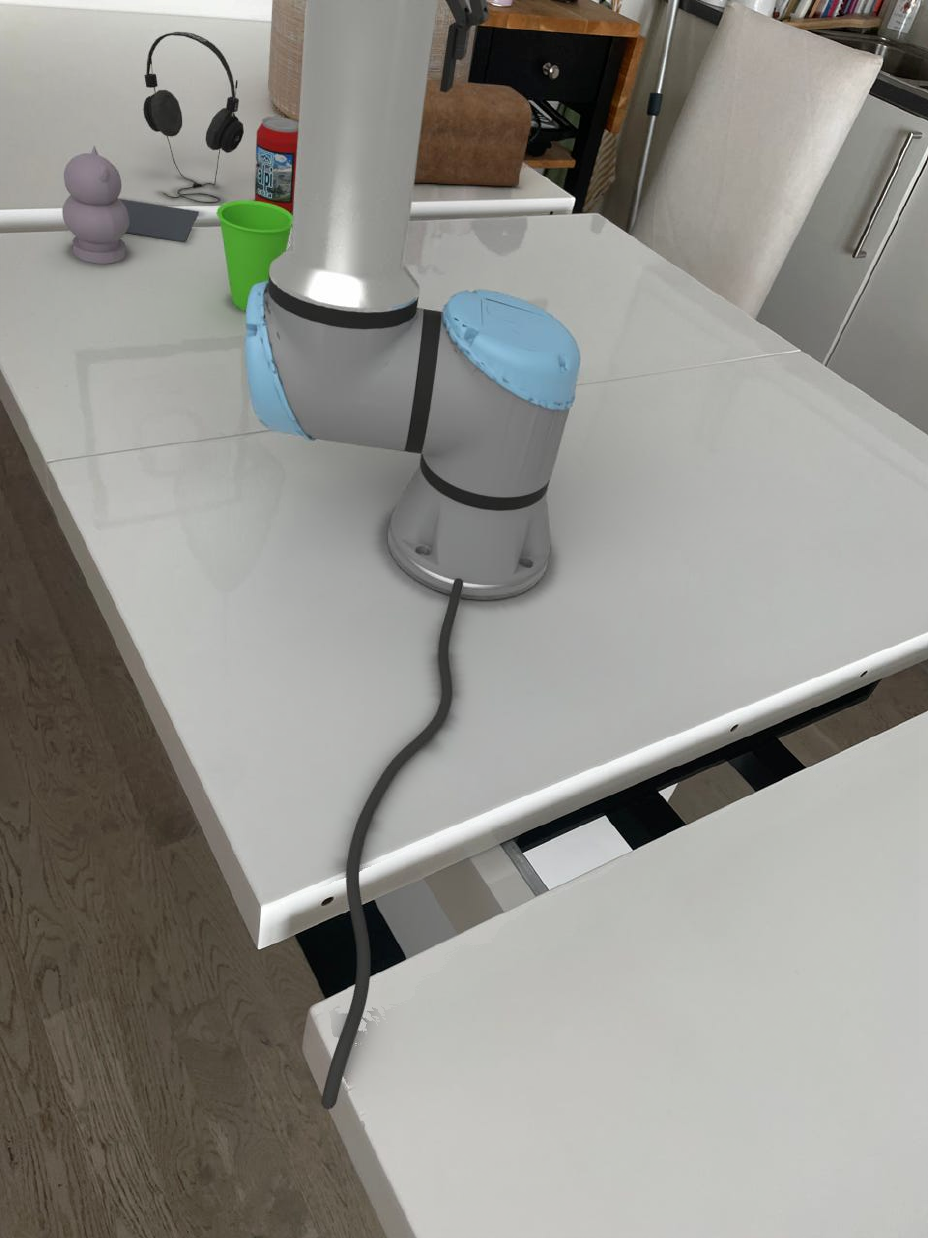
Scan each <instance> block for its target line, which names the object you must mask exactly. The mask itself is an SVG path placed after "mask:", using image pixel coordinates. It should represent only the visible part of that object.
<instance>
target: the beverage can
mask: <svg viewBox="0 0 928 1238" xmlns="http://www.w3.org/2000/svg"><path fill="white" fill-rule="evenodd" d="M298 124H299V123H298V122H296V121H294V120H291V119H289V118H288V117H282V116H266V117H263V118H262V119H261V123H260V125H259V127H258V129H257V131H256V140H255V141H256V143H255V145H256V146H255V172H254V173H255V174H254V175H255V177H254V201H259V202H264V203H269V204H272V205H276V206H278V207H281V208H283V209H285V210H287V211H288V212H290V213H291V214H293V204H294V188H295V172H296V156H297V140H298Z"/></svg>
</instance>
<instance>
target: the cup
mask: <svg viewBox="0 0 928 1238" xmlns="http://www.w3.org/2000/svg"><path fill="white" fill-rule="evenodd" d="M216 216H217V218H218V219H219V222H220V227H221V235H222V241H223V248H224V256H225V261H226V262H225V263H226V269H227V276H228V282H229V288H230V294H231V295H230V296H231V300H232V302H233V304H234V306H235V307H236V308H238V309H239V310H241V311H245V312H246V309H247V302H248V297H249V294H250V291H251V289H252V287H253V286H254V285H255V284H257V283H262V282H264V281H269V268H270V264H271V263H272V262H273V260H275V259H276V258H277V257H278V256H280V255H281V254H282V253H284V252H285V251H286V250H287V249H288V245H289V244H288V243H289V239H290V235H291V234H290V233H291V231H292V220H293V213H290V212H288V211H287V210H285V209H283V208H281V207H278V206H276V205H272V204H269V203H264V202H259V201H255V200H233V201H228V202H225V203H223V204H221V205H220V206H219V207H218V208H217V210H216Z"/></svg>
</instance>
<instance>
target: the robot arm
mask: <svg viewBox="0 0 928 1238" xmlns="http://www.w3.org/2000/svg"><path fill="white" fill-rule="evenodd" d="M446 2H447V4H448V6H449V8H450V10H451V12H452V15H453V17H454V19H455V21H456V22H455V23H453V24H451V25H450V26H449V30H448V37H447V44H446V51H445V58H444V65H443V72H442V79H441V87H440V91H442V92H448V91H449V90H450V89H451V88H452V87H453V80H454V73H455V67H456V60H462V59H463V58H464V57H465V55H466V53H467V47H468V40H469V34H470V28H471V26H474V25H476V26H481V25H483V24H484V23H486V22H487V21H489V19H490V11H489V7H488V2H487V0H469V3H470V7H471V12H470V10H469V8H468V5H467V3H466V1H465V0H446ZM437 7H438V0H306V11H305V27H304V43H303V60H302V76H301V92H300V108H299V124H298V140H297V156H296V172H295V188H294V204H293V212H292V215H293V220H292V228H291V237H290V239H291V240H290V246H289V247H288V248H286V251H285V252H284V253H282V254H281V255H280V256H278V257H277V258H276V259H275V260H273V262H272V263H271V264H270V268H269V281H264V282H262V283H257V284H255V285H254V286H253V287H252V289H251V291H250V294H249V297H248V302H247V309H246V311H245V337H244V355H245V358H244V359H245V371H246V381H247V389H248V394H249V400H250V403H251V406H252V409H253V412H254V414H255V415H256V417H257V419H258V420H259V422H260V423H261V424H262V425H263V426H264V427H265V428H267V430H270V431H273V432H276V433H281V434H286V435H291V436H298V437H301V438H303V439H304V440H306V441H310V442H311V441H312V442H315V441H316V440H319V441H326V442H334V443H340V444H346V445H347V444H348V445H355V446H362V447H370V448H375V449H383V450H390V451H395V452H396V451H397V452H404V453H411V454H419V455H420V460H419V465H418V467H417V469H416V470H415V472H414V474H413V476H412V477H411V479H410V480H409V483H408V484H407V485H406V488H405V489H404V491H403V492H402V494H401V497H400V498H399V499H398V501H397V503H396V505H395V506H394V508H393V510H392V512H391V515H390V518H389V524H388V525H389V526H388V532H387V544H388V548H389V551H390V553H391V555H392V557H393V559H394V561H395V562H396V563H397V564H398V565H399V567H400V568H401V569H402V570H403V571H404V572H405V573H406V574H408V575H409V576H410V577H412V578H413V579H414V580H416V581H417V582H418V583H420V584H422V585H424V586H426V587H428V588H429V589H432V590H435V591H436V592H439V593H440V592H441V593H443V594H445V595H449V600H448V604H447V606H446V607H447V608H446V612H445V615H444V618H443V622H442V626H441V629H440V634H439V639H438V646H437V647H438V649H437V658H438V659H437V660H438V667H439V674H440V675H439V676H440V682H441V683H440V684H441V697H440V702H439V705H438V708H437V710H436V712H435V715H434V716H433V718H432V720H431V721H430V722H429V724H428V725H427V726H426V727H425V728H424V729H423V730H422V731H421V732H420V733H419V734H418V735H417V736H415V738H414V739H412V741H410V742H409V743H408V744H406V745H405V746H404V748H402V750H400V752H398V753H397V755H395V757H393V759H392V760H391V761H390V763H389V764H388V765H387V766H386V768H385V769H384V771H383V772H382V773H381V775H380V777H379V779H378V781H377V782H376V784H375V785H374V787H373V789H372V791H371V792H370V794H369V795H368V798H367V799H366V801H365V804H363V807H362V810H361V812H360V814H359V817H358V819H357V821H356V824H355V827H354V830H353V832H352V833H353V834H352V837H351V840H350V845H349V850H348V855H347V860H346V869H345V870H346V871H345V886H346V894H347V895H346V896H347V897H346V898H347V903H348V908H349V914H350V919H351V924H352V929H353V934H354V941H355V947H356V973H355V984H354V989H353V993H352V998H351V1002H350V1005H349V1009H348V1012H347V1016H346V1018H345V1021H344V1024H343V1026H342V1029H341V1033H340V1035H339V1038H338V1040H337V1043H336V1046H335V1050H334V1053H333V1055H332V1057H331V1058H332V1059H331V1062H330V1064H329V1069H328V1072H327V1075H326V1079H325V1083H324V1087H323V1091H322V1095H321V1105H322V1107H323V1109H325V1110H328V1111H329V1110H331V1109H333V1108H334V1107H335V1106H336V1104H337V1102H338V1097H339V1093H340V1089H341V1085H342V1081H343V1077H344V1074H345V1071H346V1070H345V1069H346V1067H347V1063H348V1061H349V1057H350V1055H351V1051H352V1048H353V1046H354V1042H355V1039H356V1036H357V1034H358V1031H359V1028H360V1026H361V1025H360V1024H361V1022H362V1019H363V1016H364V1012H365V1008H366V1004H367V999H368V995H369V990H370V982H371V968H372V960H371V945H370V937H369V932H368V931H369V930H368V926H367V921H366V917H365V911H364V908H363V907H364V906H363V902H362V897H361V890H360V889H361V888H360V868H361V859H362V853H363V848H364V844H365V840H366V836H367V832H368V829H369V827H370V823H371V821H372V819H373V816H374V814H375V812H376V810H377V808H378V806H379V804H380V802H381V801H382V798H383V796H384V795H385V793H386V791H387V789H388V788H389V786H390V784H391V783H392V781H393V779H394V778H395V776H396V775H397V773H398V772H399V771H400V769H402V767H403V766H404V765H405V763H407V762H408V760H409V759H410V758H412V757H413V756H414V755H415V754H416V753H417V752H418V751H419V750H420V749H422V747H424V746H425V745H426V744H427V743H428V742H429V741H430V740H431V739H433V737H434V736H435V735H436V733H438V731H439V730H440V728H441V727H442V725H443V724H444V723H445V721H446V719H447V717H448V714H449V712H450V709H451V705H452V700H453V682H452V681H453V680H452V674H451V669H450V668H451V667H450V661H449V648H450V647H449V646H450V639H451V634H452V630H453V627H454V622H455V620H456V616H457V611H458V609H459V608H458V607H459V604H460V599H468V600H476V601H477V600H479V601H484V600H485V601H490V600H500V599H501V600H502V599H507V598H511V597H514V596H517V595H520V594H522V593H525V592H526V591H528V590H530V589H531V588H533V587H535V585H536V584H538V583H539V581H540V580H542V579H543V576H544V574H545V572H546V570H547V567H548V563H549V559H550V556H551V552H552V538H551V528H550V518H549V508H548V497H547V496H548V495H547V493H548V489H549V485H550V481H551V478H552V475H553V471H554V468H555V464H556V460H557V457H558V453H559V449H560V446H561V442H562V439H563V435H564V431H565V428H566V424H567V421H568V418H569V413H570V409H571V408H572V407H573V405H574V403H575V401H576V388H577V383H578V379H579V373H580V367H581V351H580V348H579V344H578V343H577V340H576V338H575V337H574V335H573V334H572V332H571V331H570V330H569V329H568V328H567V326H565V325H564V324H563V323H562V322H561V321H560V320H558V319H557V318H556V317H554V316H553V315H552V314H551V313H549V312H548V311H546V310H544V309H542V308H541V307H539V306H537V305H535V304H533V303H532V302H531V303H530V302H528V300H527V301H526V300H524V299H522V298H520V297H516V296H513V295H510V294H506V293H502V292H499V291H494V290H488V289H474V290H473V291H469V290H467V289H466V290H462V291H459V292H456V293H454V294H453V295H452V296H450V297H449V298H448V301H447V302H446V303H445V304H444V305H443V308H442V310H441V311H440V310H434V309H427V308H422V307H418V305H419V297H420V293H421V289H420V284H419V282H418V280H417V279H416V277H414V275H413V274H412V273H411V271H410V270H409V269H408V268H407V266H406V264H405V255H406V247H407V241H408V239H407V238H408V233H409V226H410V225H409V224H410V218H411V212H412V211H411V209H412V203H413V196H414V188H415V182H414V181H415V173H416V166H417V158H418V150H419V143H420V135H421V128H422V120H423V113H424V105H425V98H426V90H427V82H428V75H429V67H430V60H431V52H432V45H433V37H434V30H435V22H436V14H437Z"/></svg>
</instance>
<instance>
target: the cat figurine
mask: <svg viewBox="0 0 928 1238" xmlns="http://www.w3.org/2000/svg"><path fill="white" fill-rule="evenodd" d="M63 180H64V186H65V189H66V191H67V192H68V194H69V195H68V197H67V198H66V199H65V201H64V203H63V205H62V210H61V211H62V220H63V223H64V225H65V226H66V228H67V229H68V230H69V232H71V234H72V235H74V237H73V239H72V241H71V242H72V252H73V255H74V256H75V257H76V258H77V259H79V260H81V261H83V262H86V263H91V264H99V265H101V264H102V265H106V264H107V265H108V264H115V263H118V262H121V261H123V260H125V258H126V257H127V254H126V253H127V251H126V242H125V240H123V239H122V238H123V237H124V235H125V234H127V233H126V231H127V229H128V227H129V215H128V211H127V209H126V207H125V205H124V204H123V203H122V202H121V201H120V200H119V199H120V198H119V196H120V194H121V191H122V179H121V176H120V172H119V170H118V169H117V168H116V166H115V165H114V164H113V163H112V162H111V161H110V160H108V159H107V158H105V157H104V156H101V155H99V153H98V151H97V148H96V146H95V145H93V146H92V149H91V152H90V153H88V152H86V153H80V154H78V155H76V156H74V157H72V158H71V159H70V160H69V161H68V162H67V164H66V165H65V167H64V170H63Z"/></svg>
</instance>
